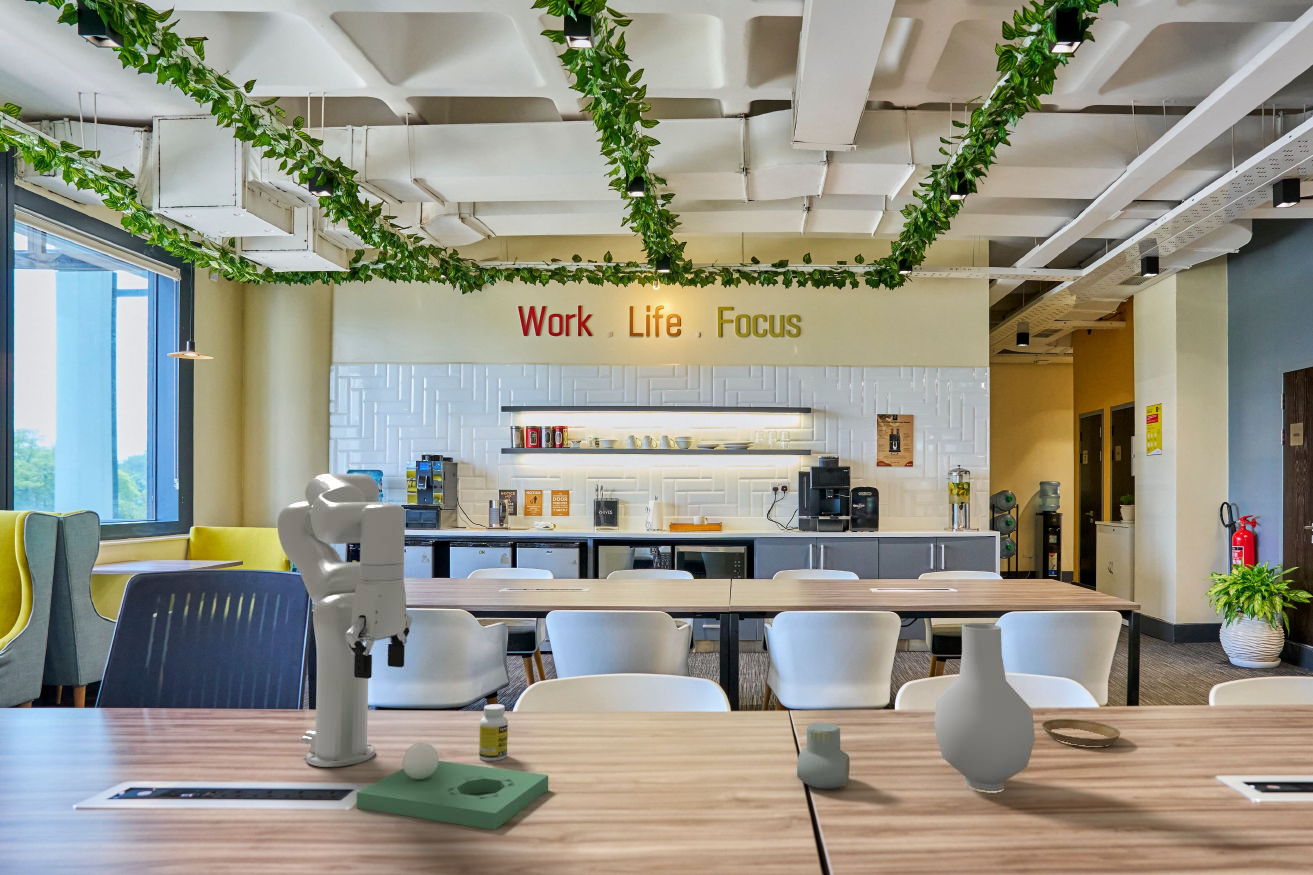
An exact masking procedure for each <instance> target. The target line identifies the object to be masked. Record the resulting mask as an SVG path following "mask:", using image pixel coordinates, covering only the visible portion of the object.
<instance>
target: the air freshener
mask: <svg viewBox="0 0 1313 875" xmlns="http://www.w3.org/2000/svg"><path fill="white" fill-rule="evenodd" d="M850 760H851V759H850V755H849V754H847V753H846V752H844V751H843V750H842V749H841V728H839V726H837V725H836V724H833V723H828V722H815V723H810V724H808V725H807V726H806V748H804V749H802V750H801V751H799V754H798V758H797V766H796V774H797V775H796V776H797V778H798V779H799V781H800V782H802V783H804V784H806V785H807V786H809V787H812V788H815V787H816V789H820V788H822V789H821V790H834V789H833V788H835V789H839V788H841V787H843V786H846V785H847V784H848V782H849V776H850V764H851V763H850V762H851V761H850ZM838 787H839V788H838Z"/></svg>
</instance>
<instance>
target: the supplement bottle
mask: <svg viewBox="0 0 1313 875" xmlns="http://www.w3.org/2000/svg"><path fill="white" fill-rule="evenodd" d="M505 712H506V709H505V705H504V704H500V703H499V704H498V703H494V704H492V703H491V704H486V705H485V706H484V707H483V715H484V716H483V717H482V718H481V719H480V720H479V721H480V722H479V741H478V742H479V743H478V744H479V747H478V756H479V759H480V760H482V761H485V762H496V761H497V760H498V761H501V759H502V760H504V759H505V758H507V756H508V739H509V738H508V731H509V730H508V729H509V728H508V725H509V720H508V718H507V717H506V716H504V715H505Z"/></svg>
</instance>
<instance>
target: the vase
mask: <svg viewBox="0 0 1313 875" xmlns="http://www.w3.org/2000/svg"><path fill="white" fill-rule="evenodd" d="M1002 644H1003V643H1002V627H1001V626H999V625H995V624H990V623H979V622H978V623H975V622H973V623H964V624H961V656H960V657H961V658H960V666H959V674H958V675H959V677H958V678H957V679H955V681H953V683H952V684H950V686H949V687H948V688H947V689H946V690H945V691H944V692H943V693H942V694H940V695H939V697H938V698H937V699H936V700H935V711H934V713H935V715H934V733H935V735H936V736H935V737H936V740H937V743H938V746H939V751H940V752H941V753H940V754H941V755H942V756H941V757H942V759H944V760H945V761H946V762H947V763H948V764H949V765H950V766H952V767H953V768H954V769H956V771H958V772H959V773H960V774H961V775H963V776H964V777H965V785H966V784H967V785H968V786H970V787H972V788H975V789H979V790H985V791H999V790H1002V789H1004V790H1005V782H1006V781H1008V780H1009V779H1011V778H1012V777H1014V776H1016V775H1018V774H1020V773H1021V772H1022V771H1024V770H1025V769H1026V768H1027V767H1028V765H1029V762H1030V759H1031V755H1032V752H1033V748H1034V745H1035V741H1036V734H1035V727H1034V726H1035V725H1034V723H1035V722H1034V716H1033V715H1034V714H1033V710H1032V707H1031V706H1029V704H1028V703H1027V702H1026V701H1025V700H1024V699H1023V698H1022V696H1020V694H1019V693H1018V692H1017V691H1016V690H1015V689H1014V688H1013V687H1012V686H1011V685H1010V683H1009V682H1008V681H1007V677H1006V672H1005V666H1004V665H1005V664H1004V659H1003V651H1002V650H1003V649H1002V646H1003V645H1002Z"/></svg>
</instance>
